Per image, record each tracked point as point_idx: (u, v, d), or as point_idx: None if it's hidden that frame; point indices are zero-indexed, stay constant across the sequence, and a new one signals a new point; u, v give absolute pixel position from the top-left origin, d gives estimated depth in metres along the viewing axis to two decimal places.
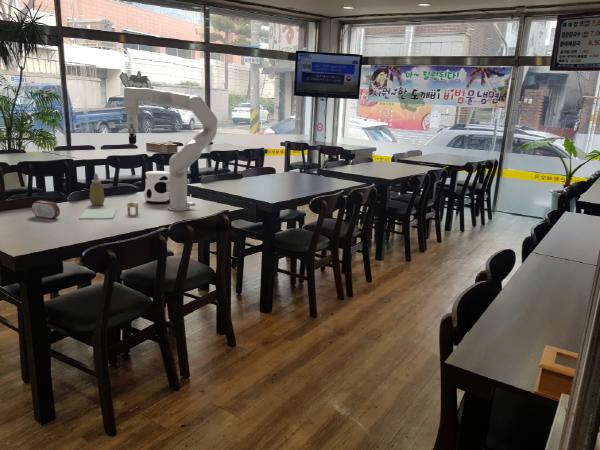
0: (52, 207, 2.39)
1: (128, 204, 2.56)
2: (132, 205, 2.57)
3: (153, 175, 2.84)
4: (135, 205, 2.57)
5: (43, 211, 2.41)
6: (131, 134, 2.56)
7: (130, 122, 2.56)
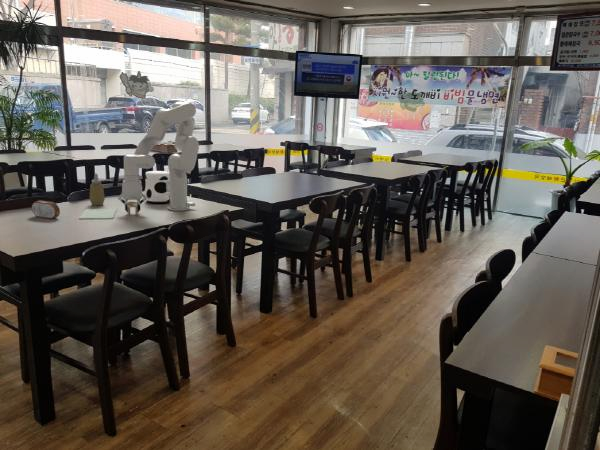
0: (52, 207, 2.39)
1: (128, 204, 2.56)
2: (132, 205, 2.57)
3: (153, 175, 2.84)
4: (135, 205, 2.57)
5: (43, 211, 2.41)
6: None
7: (141, 189, 2.58)
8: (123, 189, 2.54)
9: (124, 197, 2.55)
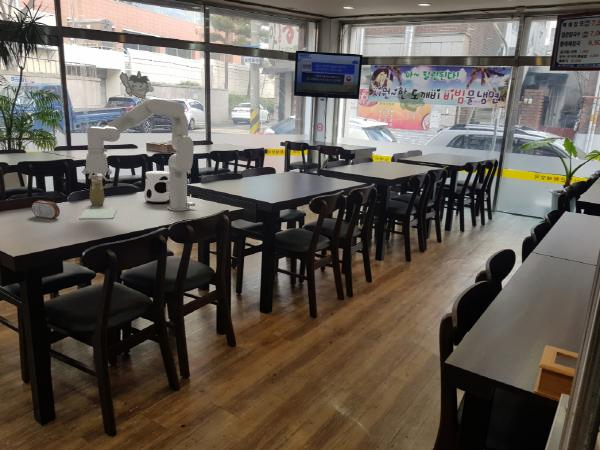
0: (52, 207, 2.39)
1: (92, 178, 2.48)
2: (96, 179, 2.49)
3: (153, 175, 2.84)
4: (100, 179, 2.49)
5: (43, 211, 2.41)
6: (107, 176, 2.52)
7: (106, 162, 2.50)
8: (86, 163, 2.46)
9: (88, 171, 2.47)
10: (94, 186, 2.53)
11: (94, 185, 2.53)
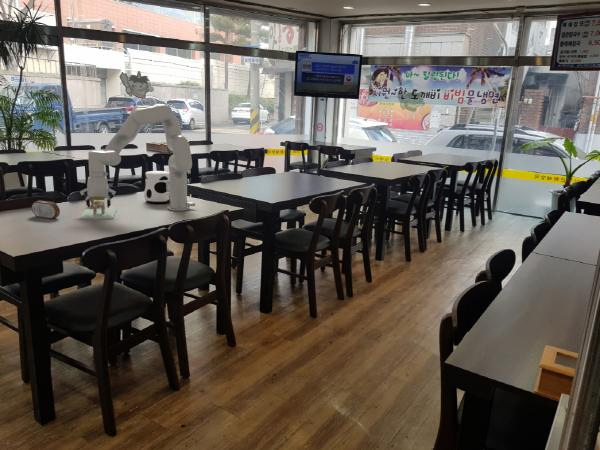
0: (52, 207, 2.39)
1: (94, 203, 2.51)
2: (98, 204, 2.52)
3: (153, 175, 2.84)
4: (101, 204, 2.52)
5: (43, 211, 2.41)
6: None
7: (107, 186, 2.53)
8: (88, 186, 2.49)
9: (89, 194, 2.50)
10: (95, 211, 2.56)
11: (95, 210, 2.56)
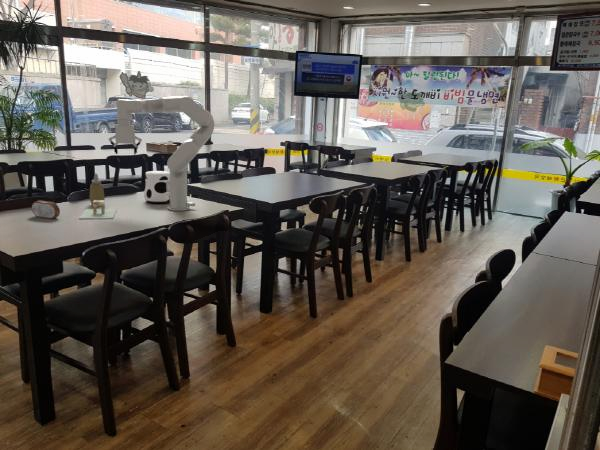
0: (52, 207, 2.39)
1: (94, 203, 2.51)
2: (98, 204, 2.52)
3: (153, 175, 2.84)
4: (101, 204, 2.52)
5: (43, 211, 2.41)
6: (138, 145, 2.68)
7: (134, 133, 2.66)
8: (116, 133, 2.62)
9: (117, 141, 2.63)
10: (95, 211, 2.56)
11: (95, 210, 2.56)
